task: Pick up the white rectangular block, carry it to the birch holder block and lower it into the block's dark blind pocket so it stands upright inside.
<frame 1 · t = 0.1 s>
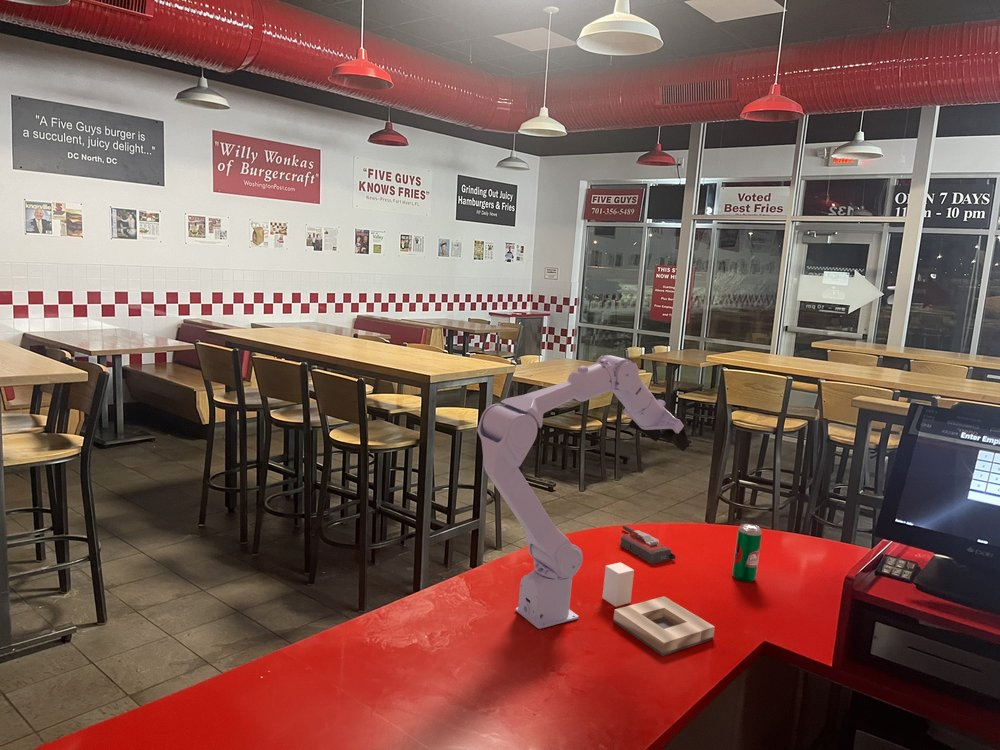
hand: (671, 442, 148), 32 cm above the counter, tool tilted 50°, fingers open, 7 cm apart
soda can: (743, 578, 161), on the counter
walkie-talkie: (639, 549, 175), on the counter
white rectangular block: (616, 600, 146), on the counter
holder block: (662, 630, 135), on the counter
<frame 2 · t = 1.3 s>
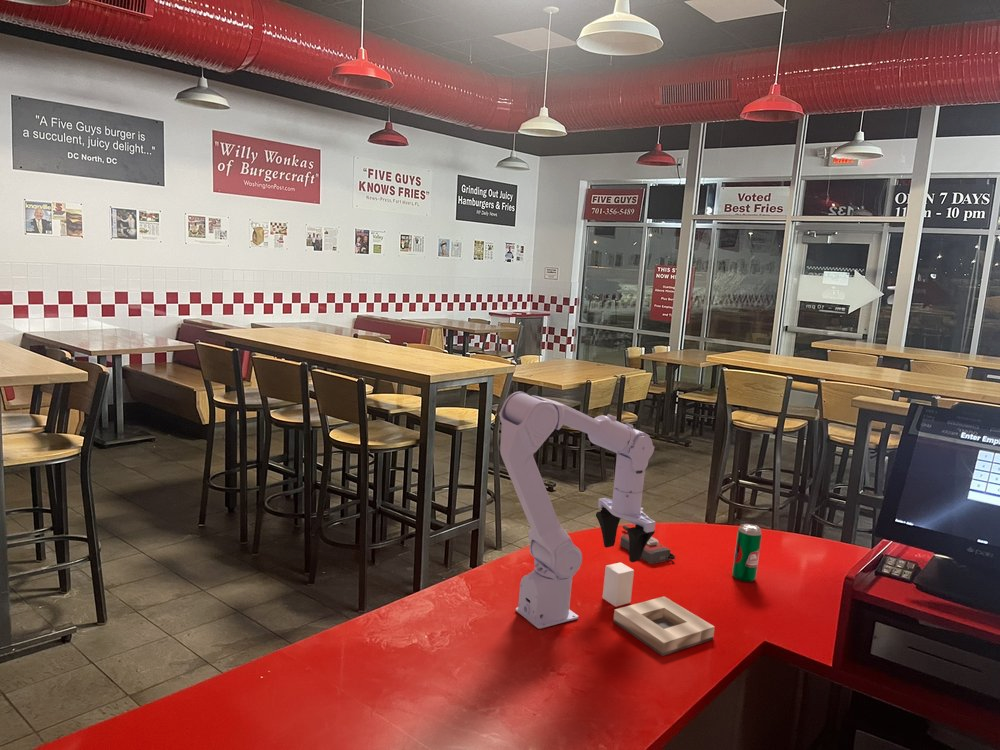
hand: (621, 553, 144), 10 cm above the counter, tool pointing down, fingers open, 7 cm apart
nothing on the counter moved.
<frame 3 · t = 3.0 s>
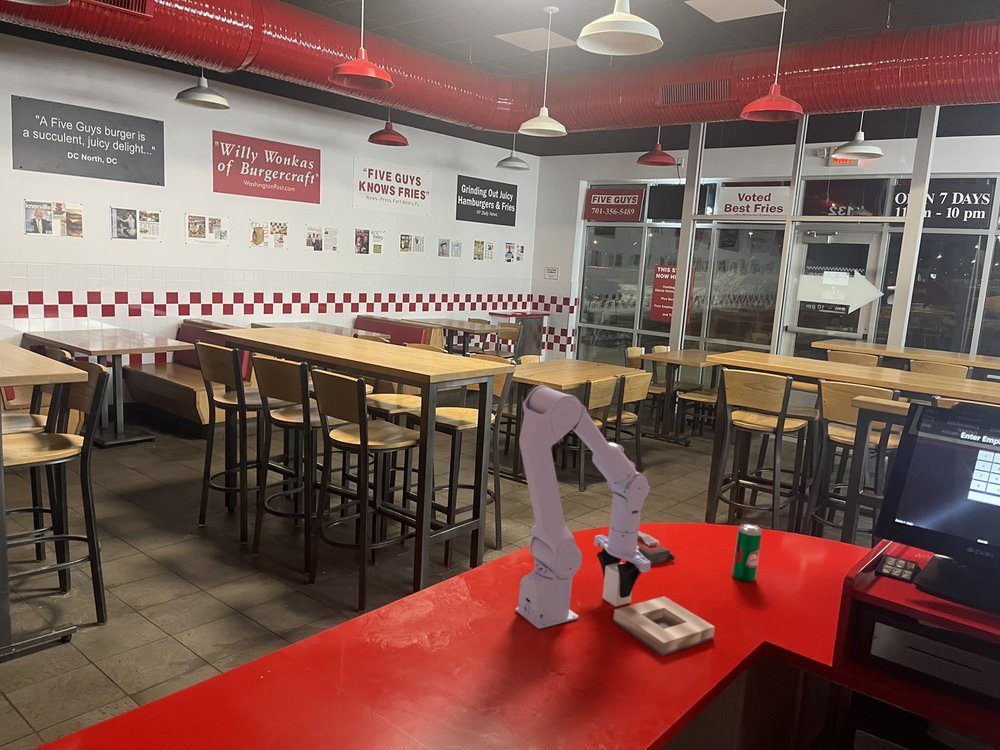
hand: (617, 591, 146), 2 cm above the counter, tool pointing down, fingers closed on white rectangular block, 4 cm apart
white rectangular block: (616, 600, 146), on the counter, touching gripper
everything else where it was.
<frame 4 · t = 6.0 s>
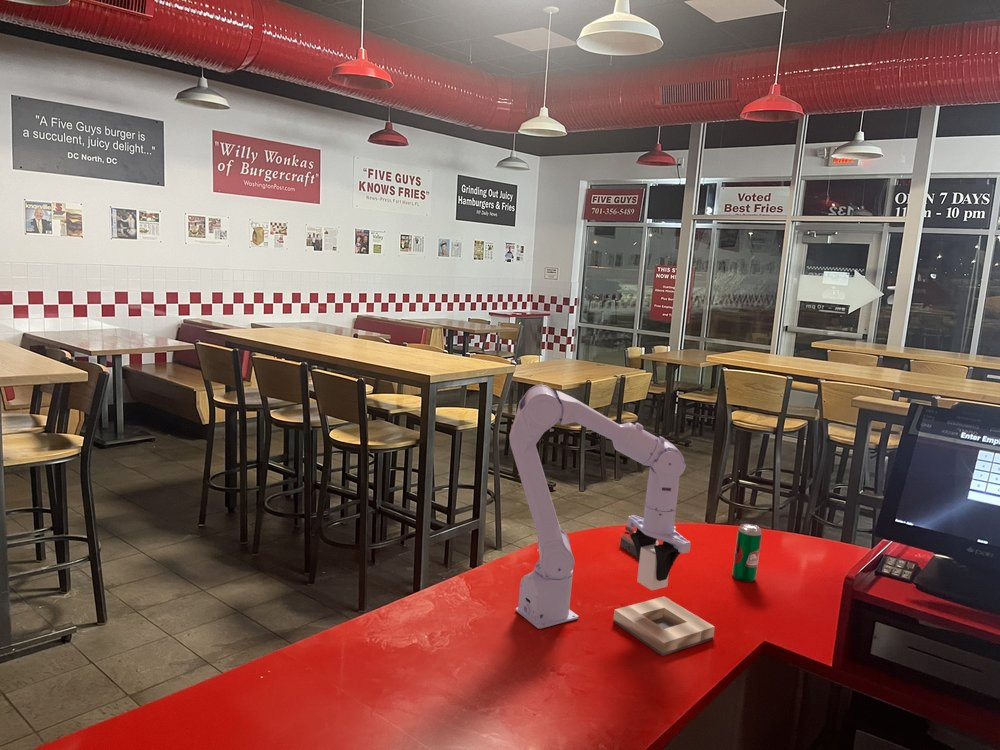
hand: (653, 574, 137), 9 cm above the counter, tool pointing down, fingers closed on white rectangular block, 4 cm apart
white rectangular block: (652, 584, 137), point 7 cm above the counter, touching gripper
everything else where it was.
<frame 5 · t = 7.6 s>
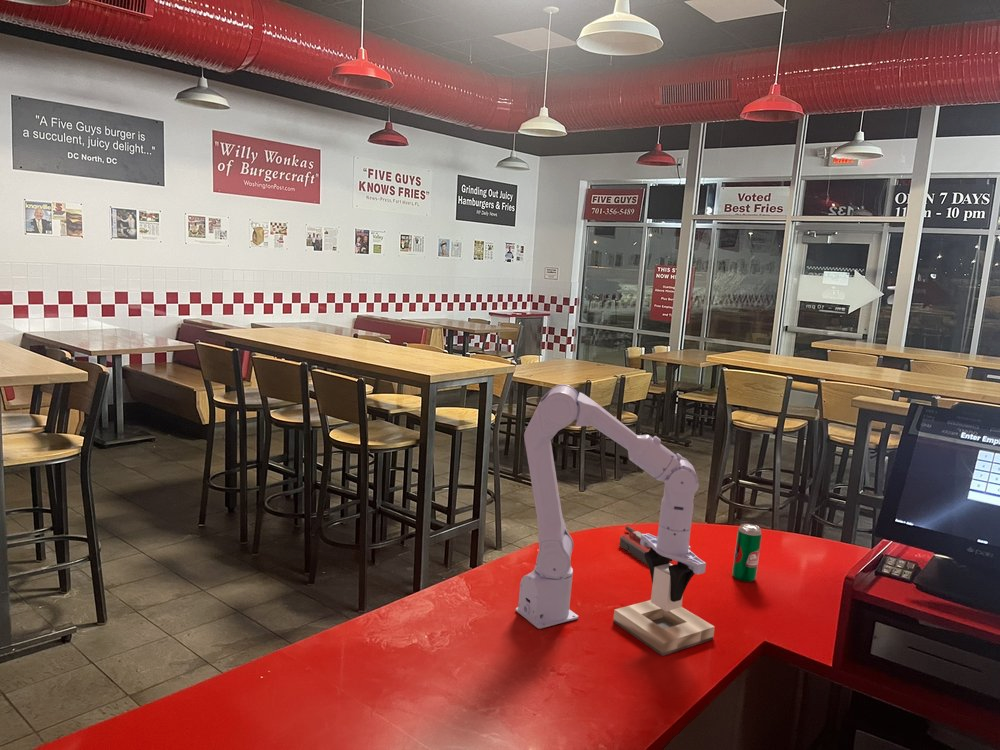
hand: (666, 594, 134), 7 cm above the counter, tool pointing down, fingers closed on white rectangular block, 4 cm apart
white rectangular block: (666, 604, 134), point 5 cm above the counter, touching gripper
everything else where it was.
when the fingers open (4 cm above the counter, at t = 9.1 s): white rectangular block drops 1 cm, resting on holder block.
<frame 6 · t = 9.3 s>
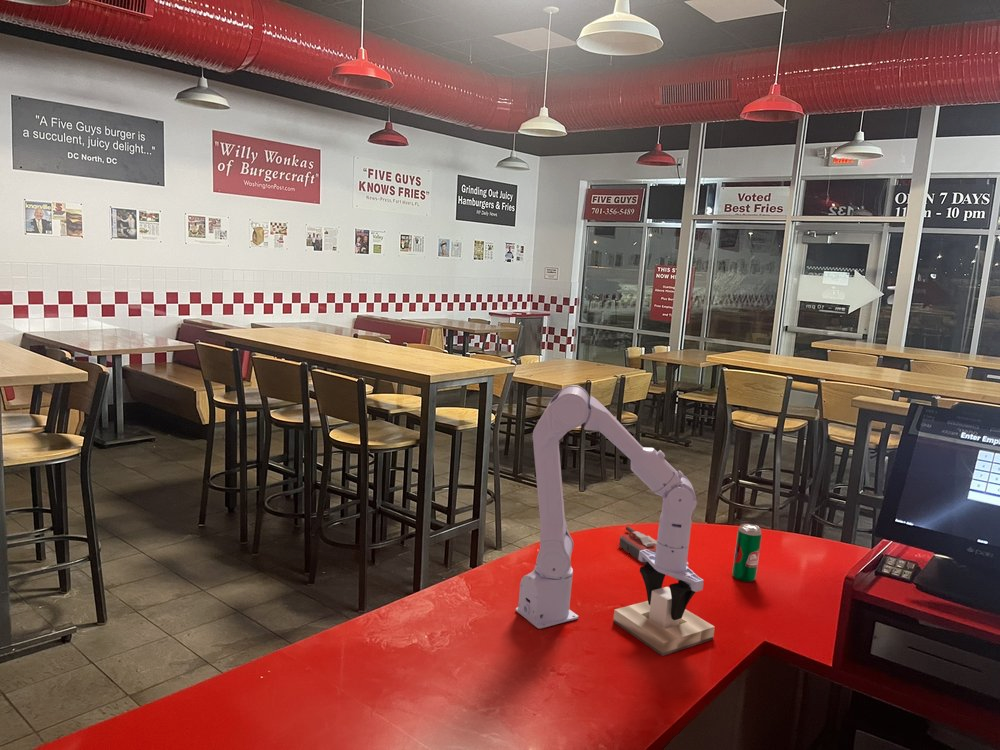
hand: (664, 611, 135), 4 cm above the counter, tool pointing down, fingers open, 5 cm apart
white rectangular block: (663, 627, 135), resting on holder block
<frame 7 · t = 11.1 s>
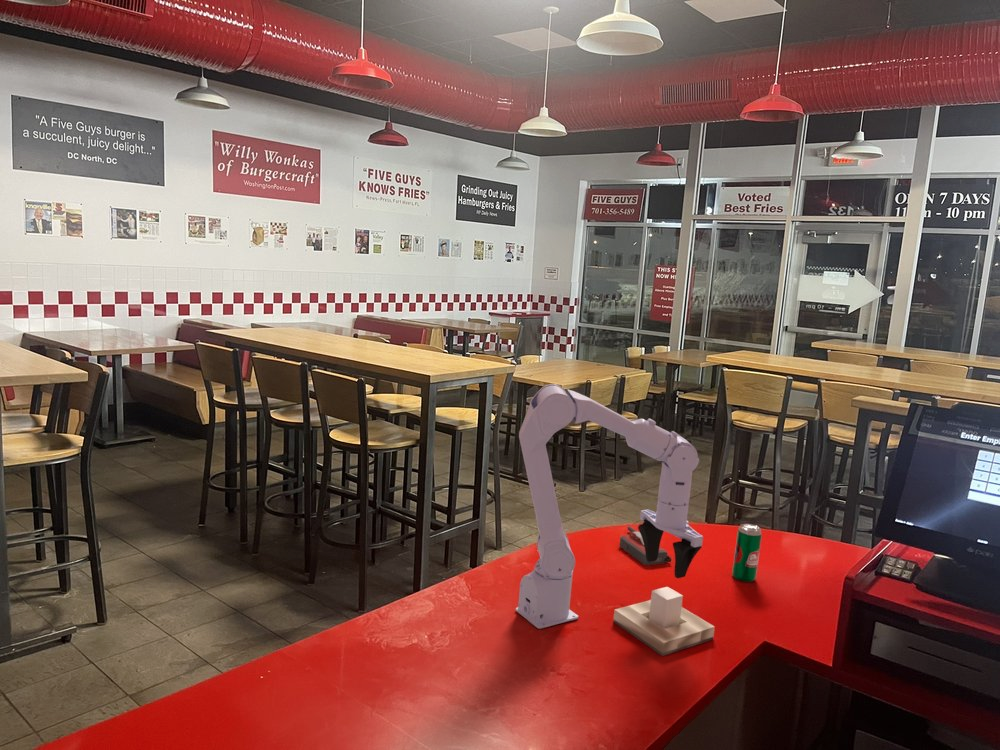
hand: (665, 568, 138), 10 cm above the counter, tool pointing down, fingers open, 7 cm apart
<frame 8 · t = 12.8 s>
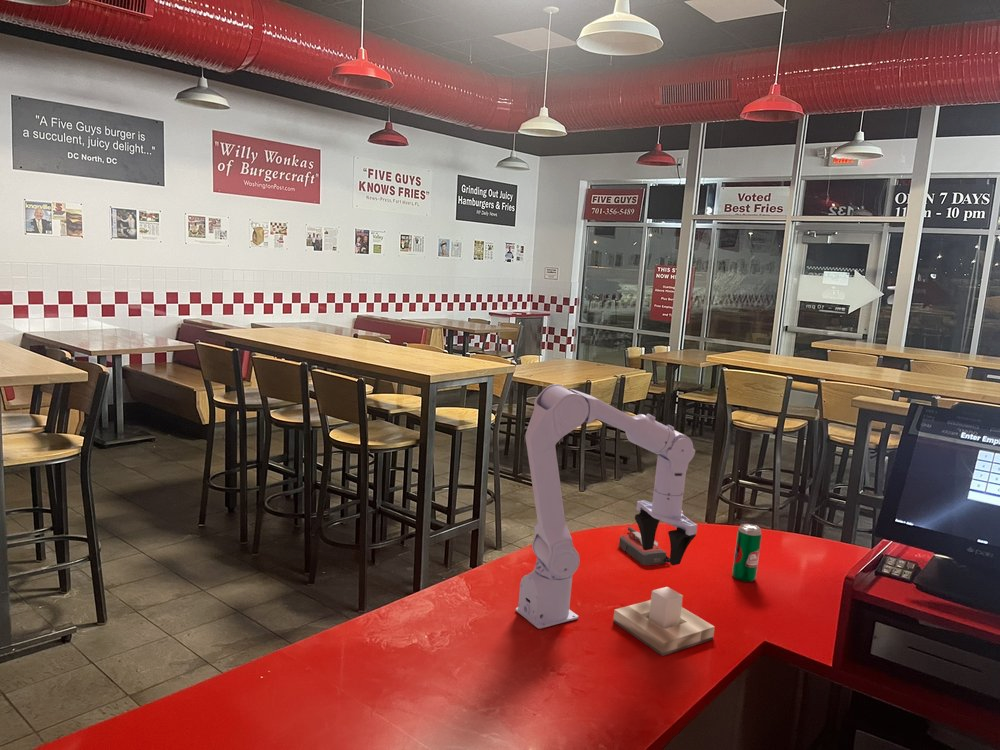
hand: (661, 556, 143), 10 cm above the counter, tool pointing down, fingers open, 7 cm apart
at the end: white rectangular block 0.1 cm off-centre on the holder block, point 0.5 cm above the holder block's base; white rectangular block tilted 0°; the gripper is holding nothing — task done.
